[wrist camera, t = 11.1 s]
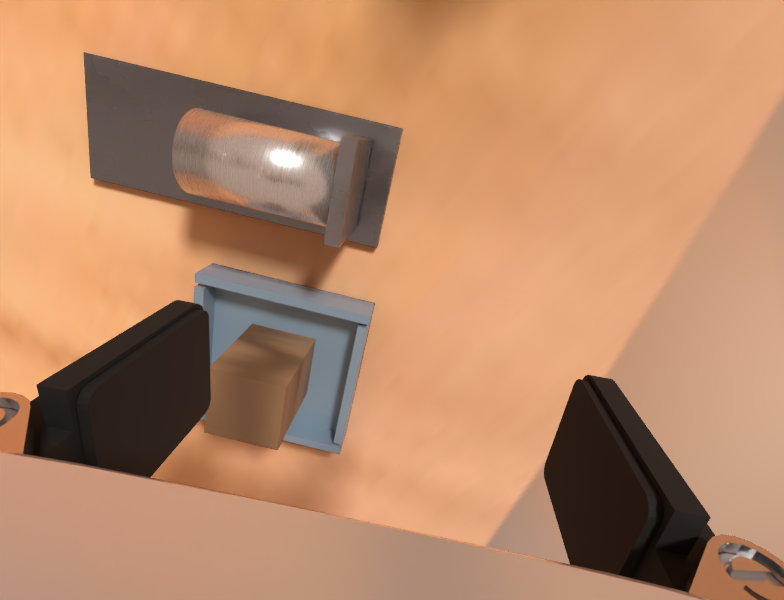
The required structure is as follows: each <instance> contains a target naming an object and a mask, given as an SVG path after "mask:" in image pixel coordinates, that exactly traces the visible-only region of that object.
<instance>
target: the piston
mask: <svg viewBox="0 0 784 600" xmlns="http://www.w3.org/2000/svg"><path fill="white" fill-rule="evenodd" d="M372 141H373V139H369V138H365V137H361V136H341V138H340V142H338V141H334V140H329V139H325V138H321V137H317V136H313V135H309V134H304V133H300V132H296V131H292V130H288V129H284V128H280V127H275V126H271V125H267V124H263V123H259V122H255V121H250V120H246V119H242V118H238V117H234V116H230V115H225V114H221V113H217V112H213V111H209V110H205V109H200V108H193V109H191V110H189V111H188V112H186V113H185V115H184V116H183V117H182V119H181V120H180V122H179V124H178V126H177V129H176V132H175V135H174V140H173V146H172V164H173V170H174V174H175V177H176V180H177V182H178V184H179V186H180V187H181V188H182V189H183V190H184V191H185V192H187V193H190V194H194V195H198V196H202V197H206V198H210V199H214V200H218V201H222V202H227V203H231V204H235V205H239V206H243V207H247V208H251V209H255V210H259V211H263V212H268V213H272V214H276V215H280V216H284V217H288V218H292V219H296V220H300V221H305V222H309V223H313V224H317V225H321V226H325V227H326V231H325V237H324V243H323V245H327V246H331V247H335V248H340V246H341V245H342V244H343V243H344V242H345V241H346V240H347V239H348V237H349V236H350V235H351V234H352V233H353V232H354V231H355V230H356V225H357V220H358V214H359V209H360V204H361V199H362V193H363V188H364V183H365V178H366V172H367V167H368V162H369V156H370V151H371V146H372Z"/></svg>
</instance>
